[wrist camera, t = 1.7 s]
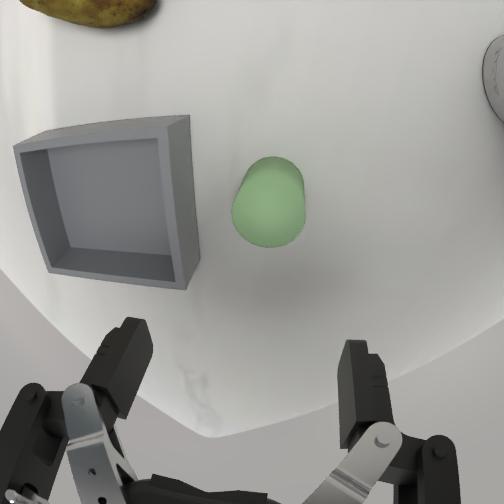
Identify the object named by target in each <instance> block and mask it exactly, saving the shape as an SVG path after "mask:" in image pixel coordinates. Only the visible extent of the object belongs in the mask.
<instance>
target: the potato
mask: <svg viewBox="0 0 504 504" xmlns="http://www.w3.org/2000/svg"><path fill="white" fill-rule="evenodd" d="M20 2H22V3H23V4H24V5H25V6H27V7H29V8H31V9H34V10H36V11H40V12H42V13H44V14H46V15H47V16H51V17H55V18H58V19H62V20H65V21H68V22H71V23H74V24H78V25H83V26H88V27H94V28H110V27H114V26H118V25H122V24H126V23H131V22H135V21H138V20H140V19H142V18H143V17H144V16H145V15H146V14H147V13H148V12H149V11H150V10H151V9H152V8H153V7H154V5H155V3H156V0H20Z"/></svg>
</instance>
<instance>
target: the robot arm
mask: <svg viewBox="0 0 504 504" xmlns="http://www.w3.org/2000/svg"><path fill="white" fill-rule="evenodd" d="M483 79H484V85H485V90H486V94H487V97H488V100H489V102H490V104H491V106H492V108H493V110H494V111H495V113H496V114H497V116H498V117H499V118H500V119H501V120H502V121H503V122H504V35H503V36H500V37H498V38H497V39H496V40H494V41H493V42H492V43H491V45H490V46H489V48H488V50H487V53H486V55H485V59H484V66H483ZM152 354H153V343H152V340H151V336H150V333H149V330H148V326H147V323H146V321H145V320H144V319H138V318H132V317H127V318H126V319H125V320H124V322H123V324H122V325H121V327H120V328H117V327H115V328H114V329H113V330H111V331H110V332H109V333H108V334H107V335H106V336H105V338H104V340H103V341H102V343H101V346H100V347H99V348H98V350H97V354H95V356H94V357H93V359H92V361H91V363H90V365H89V366H88V368H87V370H86V372H85V374H84V376H83V378H82V379H81V381H80V383H76V384H73V385H71V386H69V387H68V388H67V389H66V390H65V391H45V389H44V388H43V387H42V386H41V385H40V384H38V383H30V384H27V385H25V386H24V387H23V388H22V389H21V390H20V392H19V394H18V396H17V398H16V400H15V402H14V404H13V406H12V408H11V410H10V412H9V414H8V416H7V418H6V420H5V422H4V424H3V426H2V428H1V430H0V504H49V502H48V499H49V496H50V493H51V490H52V486H53V484H54V481H55V477H56V475H57V472H58V469H59V466H60V463H61V460H62V458H63V455H64V452H65V450H66V451H67V455H68V459H69V463H70V467H71V471H72V474H73V478H74V481H75V484H76V488H77V491H78V494H79V497H80V500H81V503H82V504H280V503H278V502H276V501H274V500H271V499H268V498H267V495H268V494H267V493H258V492H248V491H240V490H237V491H224V492H204V491H202V490H200V489H197V488H195V487H193V486H191V485H189V484H186V483H184V482H182V481H180V480H176V479H172V478H168V477H164V476H159V475H156V474H152V478H151V479H144V480H138V478H137V476H136V474H135V472H134V470H133V469H132V467H131V465H130V464H129V461H128V459H127V457H126V454H125V451H124V449H123V446H122V443H121V441H120V438H119V435H118V432H117V429H116V426H115V424H114V423H115V421H116V418H117V417H118V418H122V419H126V418H127V416H128V413H129V411H130V408H131V406H132V403H133V401H134V398H135V396H136V394H137V391H138V389H139V386H140V384H141V381H142V379H143V377H144V374H145V372H146V369H147V367H148V365H149V362H150V360H151V358H152ZM337 379H338V398H339V423H340V449H348V455H347V456H346V457H345V458H344V459H343V461H342V462H341V463H340V464H339V465H338V467H337V468H336V469H335V470H334V471H332V473H331V474H330V475H329V476H328V477H327V478H326V479H325V480H324V481H323V482H322V483H321V484H320V486H319V487H318V488H317V489H316V490H315V491H314V492H313V493H312V494H311V495H310V496H309V497H308V498H307V499H306V500H305V502H303V503H302V504H362V503H363V502H364V501H365V499H366V498H367V496H368V494H369V492H370V490H371V489H372V487H373V486H374V485H375V483H376V482H377V481H382V482H386V483H391V484H394V504H461V497H460V484H459V474H458V464H457V456H456V449H455V446H454V444H453V442H452V441H451V440H450V439H449V438H448V437H446V436H443V435H435V436H432V437H430V438H429V439H427V440H423V439H418V438H414V437H410V436H407V435H405V434H403V433H402V432H400V430H399V429H398V428H397V427H396V426H395V424H394V420H393V415H392V408H391V401H390V395H389V389H388V383H387V378H386V371H385V366H384V363H383V362H382V360H381V359H380V357H379V356H378V354H368V347H367V342H366V340H346V342H345V346H344V349H343V352H342V355H341V359H340V362H339V366H338V375H337ZM69 440H70V444H68V441H69ZM67 444H68V445H67Z"/></svg>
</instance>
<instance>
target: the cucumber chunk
mask: <svg viewBox="0 0 504 504" xmlns="http://www.w3.org/2000/svg"><path fill="white" fill-rule="evenodd" d="M232 220H233V224H234V226H235V228H236V230H237V231H238V233H239V234H240V235H241V236H242V237H243V238H244V239H245V240H247V241H248V242H250V243H252V244H254V245H257V246H260V247H266V248H274V247H280V246H283V245H286V244H288V243H289V242H291V241H293V240H294V239H295V238H296V237H297V236H298V235H299V233H300V232H301V230H302V228H303V225H304V222H305V201H304V182H303V177H302V175H301V173H300V171H299V169H298V168H297V167H296V166H295V165H294V164H293V163H291V162H290V161H288V160H286V159H284V158H280V157H266V158H263V159H260V160H258V161H257V162H255V163H254V164H253V165H252V166H251V167H250V168H249V170H248V172H247V174H246V176H245V178H244V180H243V182H242V185H241V187H240V189H239V191H238V194H237V196H236V198H235V201H234V203H233V206H232Z"/></svg>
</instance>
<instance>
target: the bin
mask: <svg viewBox="0 0 504 504" xmlns="http://www.w3.org/2000/svg"><path fill="white" fill-rule="evenodd" d="M13 149H14V154H15V159H16V164H17V168H18V173H19V177H20V182H21V186H22V190H23V194H24V198H25V201H26V205H27V209H28V212H29V216H30V219H31V222H32V226H33V229H34V232H35V235H36V238H37V241H38V244H39V247H40V250H41V253H42V256H43V259H44V262H45V264H46V267H47V270H48V272H49V273H54V274H60V275H67V276H74V277H81V278H88V279H95V280H103V281H111V282H118V283H126V284H134V285H143V286H151V287H160V288H169V289H178V290H186V289H187V286H188V284H189V282H190V280H191V277H192V275H193V273H194V271H195V269H196V266H197V264H198V262H199V260H200V253H199V242H198V232H197V220H196V209H195V196H194V183H193V169H192V153H191V136H190V117H189V115H179V116H161V117H148V118H136V119H126V120H116V121H108V122H100V123H92V124H85V125H78V126H72V127H66V128H60V129H54V130H49V131H45V132H42V133H40V134H38V135H35V136H33V137H31V138H29V139H26V140H24V141H22V142H20V143H18V144H16V145H14V146H13Z"/></svg>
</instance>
